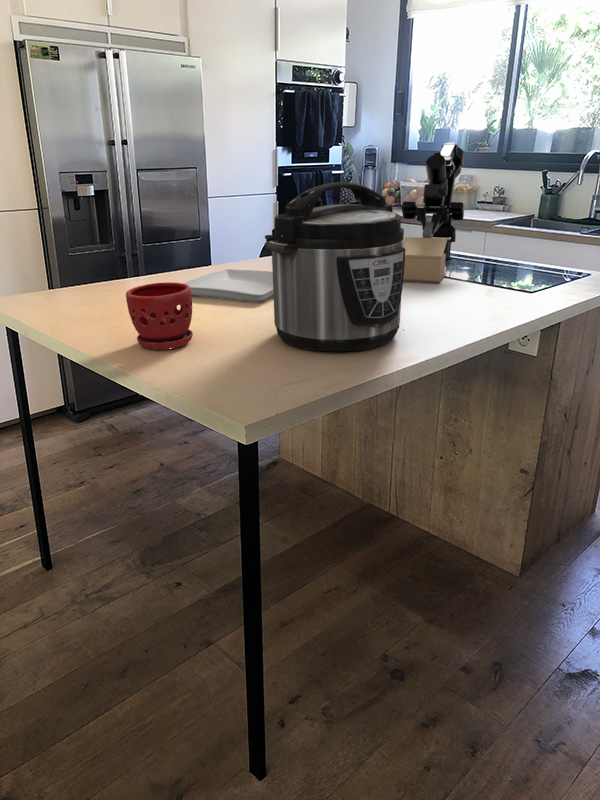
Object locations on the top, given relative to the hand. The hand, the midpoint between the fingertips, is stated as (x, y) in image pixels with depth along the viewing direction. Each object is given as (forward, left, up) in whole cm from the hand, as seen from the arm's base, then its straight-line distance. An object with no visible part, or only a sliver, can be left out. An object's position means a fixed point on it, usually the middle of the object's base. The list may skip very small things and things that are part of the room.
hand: (428, 232), depth 195 cm
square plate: (+59, -6, -14) cm, 61 cm away
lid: (+3, +3, -3) cm, 5 cm away
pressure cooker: (+57, +48, -13) cm, 76 cm away
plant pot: (+92, +35, -13) cm, 99 cm away
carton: (+5, +5, -13) cm, 15 cm away
